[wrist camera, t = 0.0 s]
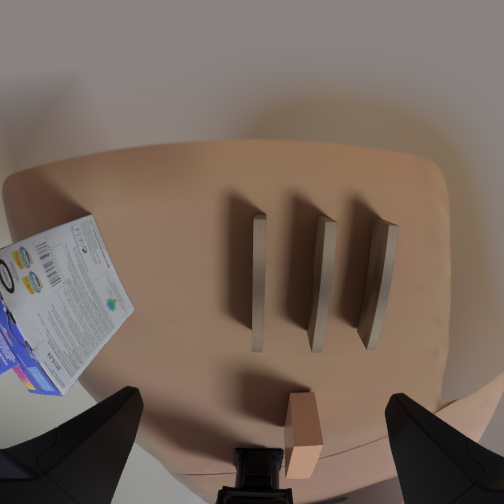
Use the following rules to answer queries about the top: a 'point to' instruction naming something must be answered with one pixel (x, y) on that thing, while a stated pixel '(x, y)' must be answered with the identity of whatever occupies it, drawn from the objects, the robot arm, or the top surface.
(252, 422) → the top surface
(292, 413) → the terracotta block
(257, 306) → the slot rack
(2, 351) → the ink cartridge box
